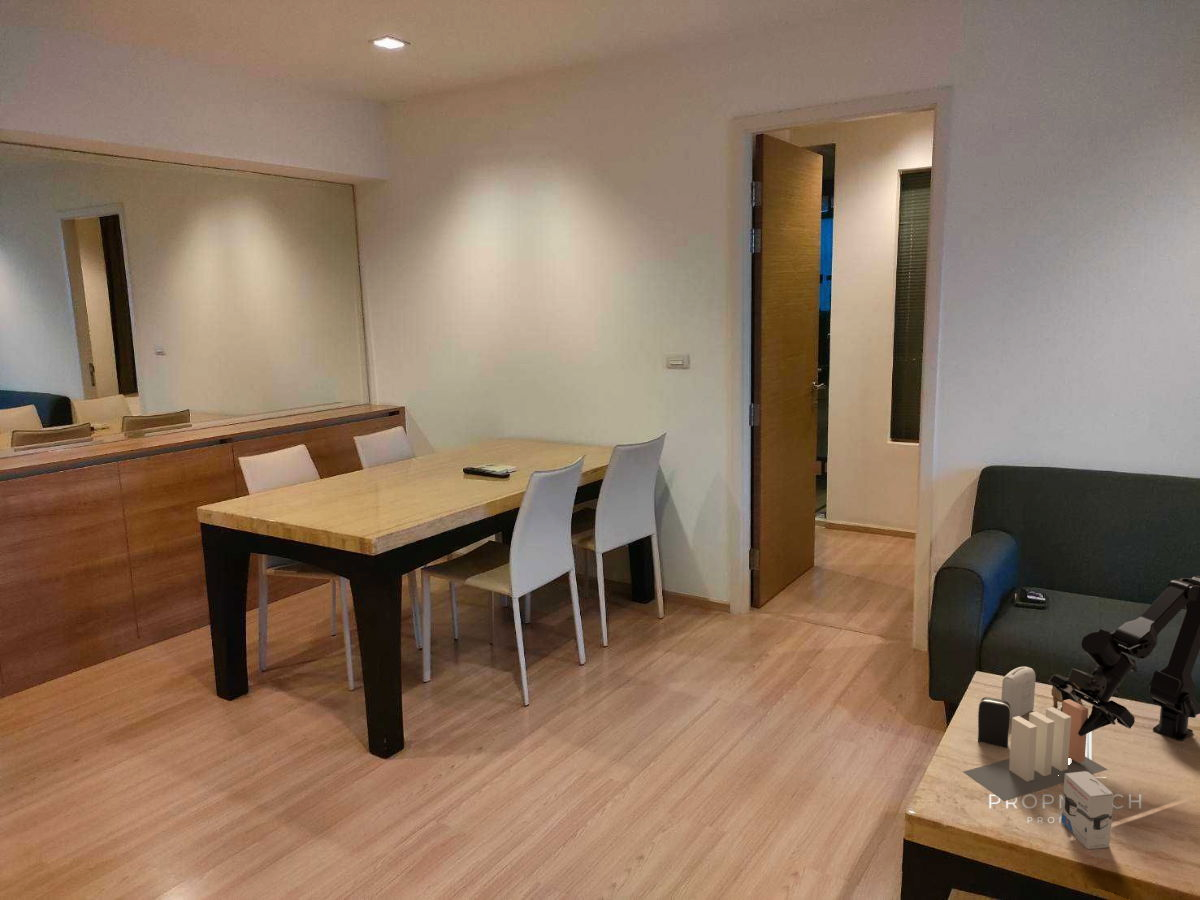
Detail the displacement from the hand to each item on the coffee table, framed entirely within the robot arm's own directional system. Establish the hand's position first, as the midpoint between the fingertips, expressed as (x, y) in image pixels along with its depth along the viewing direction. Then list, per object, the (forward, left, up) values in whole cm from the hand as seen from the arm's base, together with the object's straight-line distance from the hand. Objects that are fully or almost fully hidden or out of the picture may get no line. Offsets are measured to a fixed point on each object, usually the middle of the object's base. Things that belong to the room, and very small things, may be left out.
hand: (1069, 729), depth 191 cm
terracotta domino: (-1, 0, -7) cm, 7 cm away
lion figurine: (-26, -13, -9) cm, 31 cm away
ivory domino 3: (+4, -1, -8) cm, 9 cm away
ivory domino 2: (+8, -2, -8) cm, 12 cm away
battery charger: (+5, -15, -9) cm, 18 cm away
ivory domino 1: (+13, -4, -8) cm, 16 cm away
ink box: (+23, +15, -9) cm, 29 cm away
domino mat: (+9, -3, -9) cm, 13 cm away
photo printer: (-13, -19, -9) cm, 25 cm away
